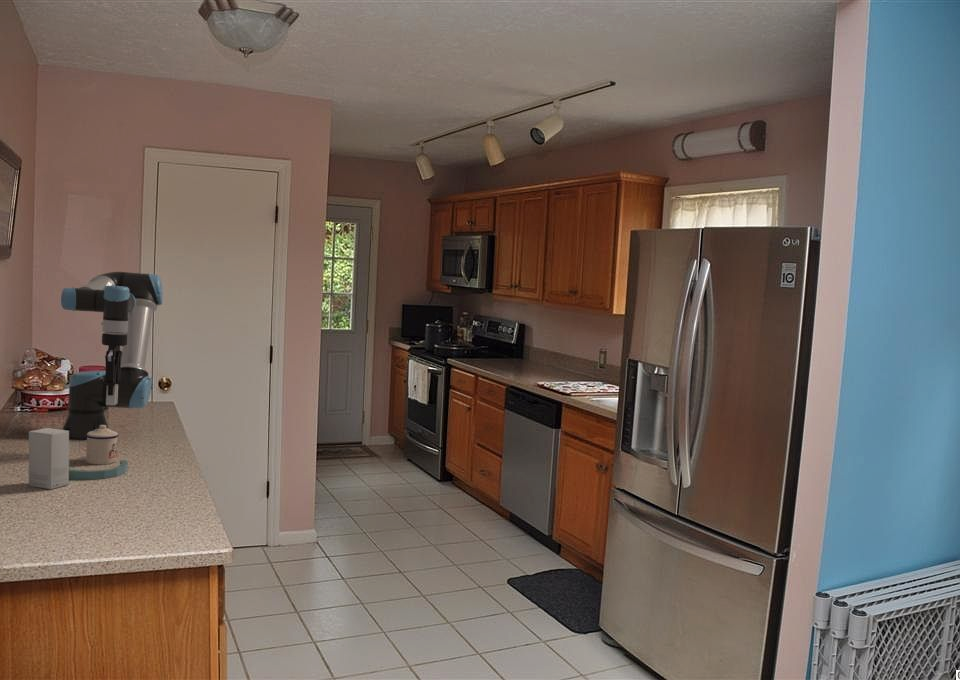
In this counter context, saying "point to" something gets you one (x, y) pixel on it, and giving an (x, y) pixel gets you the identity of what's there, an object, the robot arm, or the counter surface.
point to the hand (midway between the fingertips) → (111, 404)
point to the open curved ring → (99, 472)
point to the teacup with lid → (101, 446)
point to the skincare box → (48, 458)
